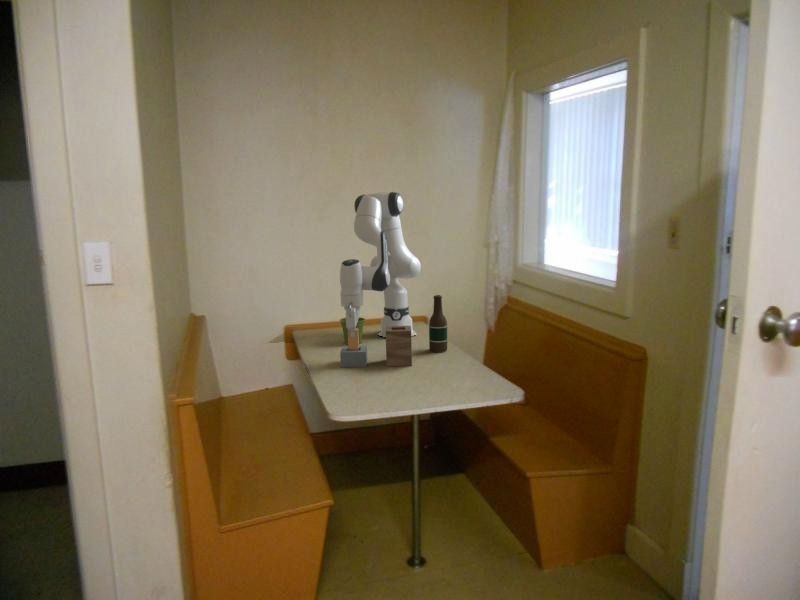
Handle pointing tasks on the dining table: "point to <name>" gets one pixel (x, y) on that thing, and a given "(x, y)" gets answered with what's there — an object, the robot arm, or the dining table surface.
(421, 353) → the dining table surface
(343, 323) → the plant pot
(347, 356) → the low socket
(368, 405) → the dining table surface
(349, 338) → the peg
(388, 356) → the wood block with hole
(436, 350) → the beer bottle
